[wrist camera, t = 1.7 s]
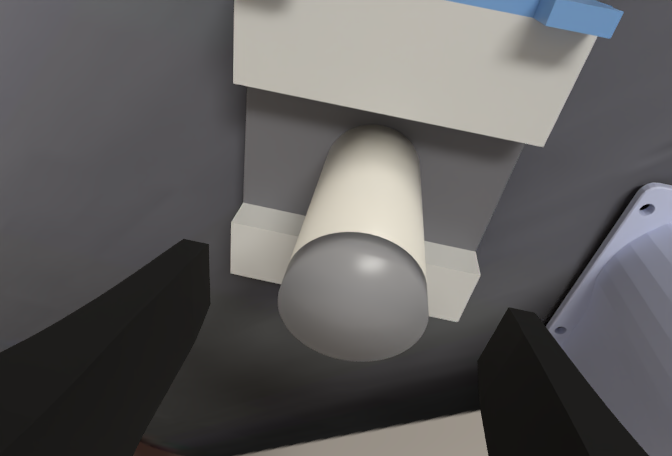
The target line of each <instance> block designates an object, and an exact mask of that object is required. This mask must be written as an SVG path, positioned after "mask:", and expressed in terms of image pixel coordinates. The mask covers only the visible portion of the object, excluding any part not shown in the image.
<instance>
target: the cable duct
mask: <svg viewBox="0 0 672 456" xmlns="http://www.w3.org/2000/svg"><path fill="white" fill-rule="evenodd" d="M623 13H624V12H623V11H620V10H618V9H615V8H612V6H610V5H607V4H604V3H601V2H599V1H596V0H234V57H233V83H234V84H239V85H243V86H247V104H246V134H245V164H244V194H243V204H242V205H241V207H240V209H239V210H238V212H237V214H236V215H235V217H234V219H233V220H232V222H231V274H235V275H240V276H245V277H249V278H254V279H259V280H263V281H268V282H273V283H277V284H282V281H283V278H284V275H285V273H286V270H287V267H288V264H289V261H290V259H291V256H292V253H293V250H294V247H295V245H296V242H297V239H298V236H299V233H300V231H301V228H302V225H303V222H304V219H305V217H306V214H307V211H308V208H309V205H310V203H311V200H312V197H313V194H314V191H315V189H316V186H317V183H318V180H319V177H320V175H321V172H322V169H323V166H324V163H325V161H326V158H327V155H328V152H329V150H330V148H331V146H332V145H333V143H334V142H335V141H336V140H337V139H338V138H339V137H340V136H341V135H342V134H344V133H345V132H347V131H348V130H350V129H353V128H355V127H358V126H363V125H381V126H386V127H389V128H392V129H394V130H396V131H398V132H400V133H401V134H402V135H404V136H405V137H406V138H407V139H408V140H409V141H410V142H411V143H412V145H413V146H414V148H415V150H416V152H417V154H418V157H419V162H420V175H421V192H422V209H423V226H424V243H425V260H426V277H427V294H428V312H429V316H431V317H436V318H441V319H445V320H450V321H454V322H458V321H459V319H460V316H461V314H462V312H463V310H464V308H465V306H466V304H467V302H468V300H469V298H470V296H471V294H472V292H473V290H474V288H475V286H476V284H477V282H478V280H479V278H480V276H481V275H480V270H479V265H478V261H477V256H476V250H477V247H478V245H479V243H480V241H481V239H482V236H483V234H484V232H485V230H486V228H487V226H488V223H489V221H490V219H491V217H492V215H493V213H494V210H495V208H496V206H497V204H498V202H499V199H500V197H501V195H502V193H503V191H504V189H505V186H506V184H507V182H508V180H509V178H510V175H511V173H512V171H513V169H514V167H515V165H516V162H517V160H518V158H519V156H520V154H521V151H522V149H523V147H524V145H525V143H526V144H531V145H536V146H540V147H544V145H545V143H546V141H547V139H548V136H549V134H550V132H551V130H552V128H553V126H554V124H555V122H556V120H557V118H558V116H559V114H560V112H561V110H562V108H563V106H564V104H565V102H566V100H567V98H568V96H569V94H570V92H571V89H572V87H573V85H574V83H575V81H576V79H577V77H578V75H579V73H580V71H581V69H582V67H583V65H584V63H585V61H586V59H587V57H588V55H589V53H590V51H591V49H592V47H593V44H594V42H595V40H596V38H597V36H599V37H604V38H609V39H610V38H611V36H612V34H613V32H614V30H615V28H616V27H617V25H618V23H619V21H620V19H621V17H622V15H623Z"/></svg>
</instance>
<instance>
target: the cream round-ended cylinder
mask: <svg viewBox="0 0 672 456" xmlns="http://www.w3.org/2000/svg"><path fill="white" fill-rule="evenodd" d="M278 309H279V313H280V316H281V318H282V320H283V322H284V324H285V326H286V327H287V328H288V330H289V331H290V332H291V333H292V334H293V335H294V336H295V337H296V338H297V339H298V340H299V341H300V342H302V343H303V344H305V345H306V346H307V347H309V348H311V349H313V350H315V351H317V352H319V353H321V354H324V355H326V356H329V357H333V358H336V359H341V360H346V361H356V362H368V361H377V360H383V359H387V358H390V357H393V356H396V355H398V354H400V353H402V352H404V351H406V350H407V349H409V348H410V347H412V346H413V345H414V344H415V343H416V342H417V341H418V340H419V339H420V337H421V336H422V335H423V333H424V331H425V329H426V326H427V323H428V317H429V312H428V294H427V277H426V260H425V243H424V226H423V209H422V192H421V175H420V162H419V157H418V154H417V152H416V150H415V148H414V146H413V145H412V143H411V142H410V141H409V140H408V139H407V138H406V137H405V136H404V135H402V134H401V133H400V132H398V131H396V130H394V129H392V128H389V127H386V126H381V125H363V126H358V127H355V128H353V129H350V130H348V131H347V132H345V133H344V134H342V135H341V136H340V137H339V138H338V139H337V140H336V141H335V142H334V143H333V145H332V146H331V148H330V150H329V152H328V155H327V158H326V161H325V163H324V166H323V169H322V172H321V175H320V177H319V180H318V183H317V186H316V189H315V191H314V194H313V197H312V200H311V203H310V205H309V208H308V211H307V214H306V217H305V219H304V222H303V225H302V228H301V231H300V233H299V236H298V239H297V242H296V245H295V247H294V250H293V253H292V256H291V259H290V261H289V264H288V267H287V270H286V273H285V275H284V278H283V281H282V284H281V286H280V289H279V294H278Z"/></svg>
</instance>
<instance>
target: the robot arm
mask: <svg viewBox="0 0 672 456" xmlns="http://www.w3.org/2000/svg"><path fill="white" fill-rule="evenodd" d="M646 204H650V205H649V206H648V207H647V208H646V209H644V210H640V208H641V207H642V206H643V205H646ZM209 306H210V278H209V244H205V243H200V242H196V241H191V240H186V239H183V240H181V241H180V242H178V243H177V244H175V245H174V246H172V247H171V248H169V249H168V250H167V251H165V252H164V253H162V254H161V255H160V256H158V257H157V258H155V259H154V260H152V261H151V262H150V263H148V264H147V265H145V266H144V267H142V268H141V269H140V270H138V271H137V272H135V273H134V274H132V275H131V276H129V277H128V278H126V279H125V280H123V281H122V282H120V283H119V284H117V285H116V286H114V287H113V288H111V289H110V290H108V291H107V292H105V293H104V294H102V295H101V296H99V297H98V298H96V299H94V300H93V301H91V302H89V303H88V304H86V305H85V306H83V307H81V308H80V309H78V310H76V311H75V312H73V313H71V314H70V315H68V316H67V317H65V318H63V319H62V320H60V321H58V322H56V323H55V324H53V325H51V326H49V327H48V328H46V329H44V330H42V331H41V332H39V333H37V334H35V335H33V336H31V337H30V338H28V339H26V340H24V341H22V342H20V343H18V344H16V345H14V346H12V347H10V348H8V349H6V350H4V351H3V352H1V353H0V456H133V454H134V452H135V450H136V448H137V446H138V444H139V442H140V440H141V438H142V436H143V434H144V432H145V430H146V428H147V426H148V425H149V423H150V421H151V419H152V417H153V416H154V414H155V412H156V410H157V409H158V407H159V405H160V403H161V401H162V400H163V398H164V396H165V394H166V393H167V391H168V389H169V387H170V386H171V384H172V382H173V380H174V378H175V377H176V375H177V373H178V371H179V370H180V368H181V366H182V364H183V362H184V361H185V359H186V357H187V355H188V353H189V352H190V350H191V348H192V346H193V344H194V342H195V340H196V338H197V335H198V333H199V331H200V328H201V326H202V324H203V321H204V319H205V316H206V314H207V311H208V309H209ZM558 327H560V328H558ZM478 387H479V403H480V409H481V415H482V421H483V427H484V432H485V439H486V444H487V450H488V455H489V456H672V185H667V184H662V183H649V184H646V185H644V186H643V187H641V188H640V189H639V190H638V191H637V193H636V194H635V196H634V197H633V199H632V200H631V202H630V203H629V204H628V206H627V207H626V209H625V210H624V212H623V213H622V215H621V216H620V218H619V219H618V221H617V222H616V224H615V225H614V227H613V228H612V230H611V231H610V232H609V234H608V235H607V237H606V238H605V240H604V241H603V243H602V244H601V246H600V247H599V249H598V250H597V252H596V253H595V255H594V256H593V258H592V259H591V260H590V262H589V263H588V265H587V266H586V268H585V269H584V271H583V272H582V274H581V275H580V277H579V278H578V280H577V281H576V283H575V284H574V286H573V287H572V288H571V290H570V291H569V293H568V294H567V296H566V297H565V299H564V300H563V302H562V303H561V305H560V306H559V308H558V309H557V311H556V312H555V314H554V315H553V317H552V318H551V319H550V321H549V322H548V324H547V325H546V327H545V325H544V324H543V323H542V321H541V320H540V319H539V318H538V317H537V315H536V314H535V313H533V312H528V311H523V310H518V309H514V308H508V310H507V311H506V313H505V315H504V316H503V318H502V320H501V322H500V323H499V325H498V327H497V329H496V330H495V332H494V334H493V335H492V337H491V339H490V341H489V342H488V344H487V346H486V348H485V349H484V351H483V353H482V355H481V356H480V358H479V360H478Z"/></svg>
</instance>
